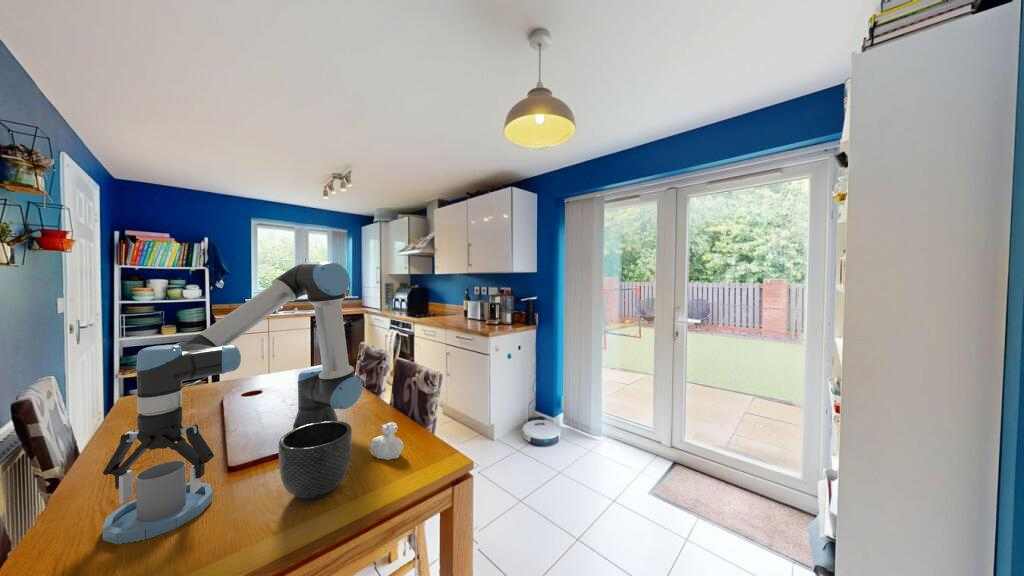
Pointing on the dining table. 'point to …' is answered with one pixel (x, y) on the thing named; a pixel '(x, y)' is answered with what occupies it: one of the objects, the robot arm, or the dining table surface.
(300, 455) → the planter
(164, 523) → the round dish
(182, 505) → the cup
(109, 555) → the dining table surface
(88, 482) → the dining table surface
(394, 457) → the duck figurine
